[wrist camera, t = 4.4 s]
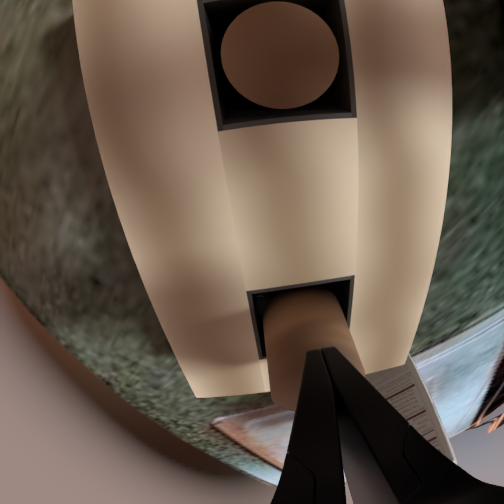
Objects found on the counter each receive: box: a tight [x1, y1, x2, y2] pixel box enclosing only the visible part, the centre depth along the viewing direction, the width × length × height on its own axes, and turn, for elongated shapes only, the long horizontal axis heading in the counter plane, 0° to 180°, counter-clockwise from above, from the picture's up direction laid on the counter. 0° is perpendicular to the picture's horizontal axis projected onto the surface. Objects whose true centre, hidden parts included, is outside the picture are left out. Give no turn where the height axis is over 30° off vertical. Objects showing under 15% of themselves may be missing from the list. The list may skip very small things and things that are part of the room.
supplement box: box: [365, 354, 458, 465], centre depth 21 cm, size 7×7×13 cm
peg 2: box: [262, 285, 365, 411], centre depth 14 cm, size 4×4×4 cm
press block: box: [72, 0, 452, 398], centre depth 14 cm, size 14×24×5 cm, turn 7°
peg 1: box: [221, 2, 339, 109], centre depth 11 cm, size 4×4×4 cm
